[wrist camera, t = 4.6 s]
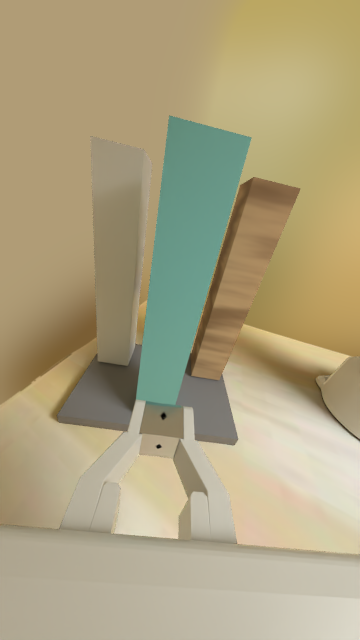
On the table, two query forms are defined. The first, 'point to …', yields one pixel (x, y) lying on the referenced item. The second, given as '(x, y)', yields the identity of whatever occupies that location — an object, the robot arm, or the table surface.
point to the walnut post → (240, 270)
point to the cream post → (118, 243)
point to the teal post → (186, 247)
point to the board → (120, 395)
